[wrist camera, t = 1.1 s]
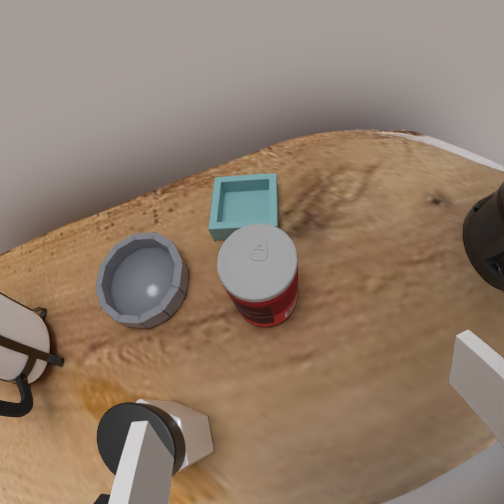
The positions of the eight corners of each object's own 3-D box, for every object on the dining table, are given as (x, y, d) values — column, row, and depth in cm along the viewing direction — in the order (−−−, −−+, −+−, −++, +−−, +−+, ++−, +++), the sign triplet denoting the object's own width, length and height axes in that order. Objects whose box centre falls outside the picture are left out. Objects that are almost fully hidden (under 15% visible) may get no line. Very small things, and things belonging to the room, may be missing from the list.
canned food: (290, 263, 40) (288, 215, 30) (303, 321, 36) (306, 290, 27) (232, 274, 40) (212, 231, 31) (241, 333, 37) (220, 307, 27)
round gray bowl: (193, 241, 44) (187, 230, 41) (183, 331, 38) (174, 325, 35) (117, 245, 45) (107, 235, 43) (100, 325, 39) (89, 319, 37)
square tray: (277, 186, 46) (276, 173, 43) (278, 237, 42) (277, 225, 39) (219, 189, 47) (215, 177, 45) (213, 240, 43) (208, 229, 41)
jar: (139, 446, 31) (83, 455, 20) (160, 392, 34) (107, 384, 24) (202, 477, 29) (163, 505, 18) (225, 421, 32) (193, 430, 21)
